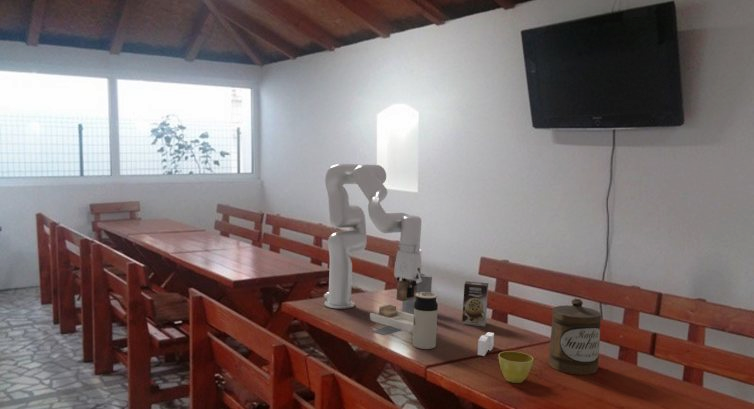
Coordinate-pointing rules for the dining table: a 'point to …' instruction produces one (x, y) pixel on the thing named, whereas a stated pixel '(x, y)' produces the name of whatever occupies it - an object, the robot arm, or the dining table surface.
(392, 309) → the offcut top
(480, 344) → the napkin holder
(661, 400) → the dining table surface
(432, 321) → the travel mug
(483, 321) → the coffee box
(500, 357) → the flower pot
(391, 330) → the mat
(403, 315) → the rack
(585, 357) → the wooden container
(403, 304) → the hip flask
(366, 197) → the robot arm
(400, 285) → the brown wooden block
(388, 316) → the offcut low
